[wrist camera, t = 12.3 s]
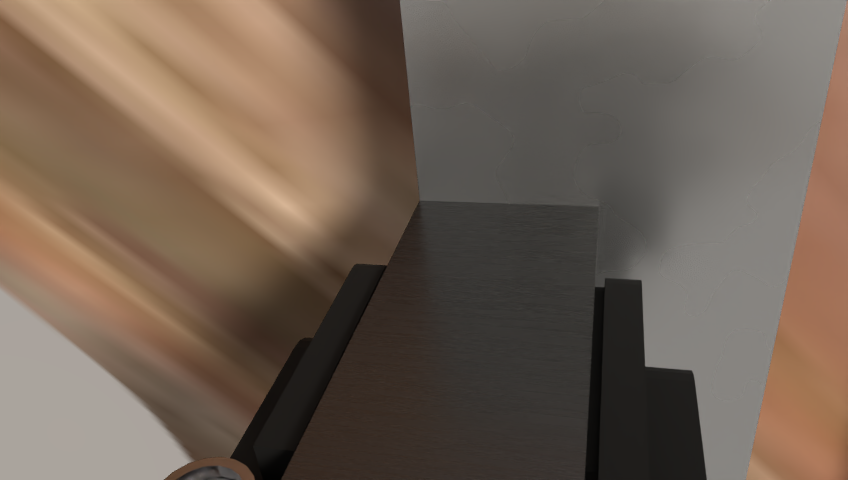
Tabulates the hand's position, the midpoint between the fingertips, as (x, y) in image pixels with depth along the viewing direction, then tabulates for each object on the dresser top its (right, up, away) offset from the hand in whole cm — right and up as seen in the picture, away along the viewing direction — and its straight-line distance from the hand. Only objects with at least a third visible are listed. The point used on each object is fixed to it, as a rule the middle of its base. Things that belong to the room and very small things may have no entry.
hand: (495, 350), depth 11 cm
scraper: (+2, +2, +2) cm, 3 cm away
